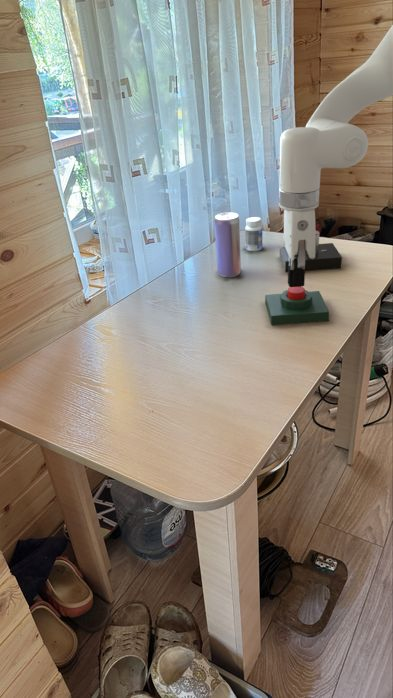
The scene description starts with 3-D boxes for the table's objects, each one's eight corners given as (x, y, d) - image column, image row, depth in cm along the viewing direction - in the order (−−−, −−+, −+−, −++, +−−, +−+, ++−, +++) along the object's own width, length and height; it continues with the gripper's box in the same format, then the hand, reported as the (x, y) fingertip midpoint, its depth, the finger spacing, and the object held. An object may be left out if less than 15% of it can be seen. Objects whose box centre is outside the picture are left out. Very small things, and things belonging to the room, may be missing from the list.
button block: (318, 299, 116) (319, 283, 114) (328, 321, 107) (329, 304, 105) (265, 303, 116) (265, 287, 114) (271, 325, 108) (271, 308, 105)
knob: (297, 251, 133) (298, 231, 130) (310, 247, 134) (311, 227, 132) (308, 256, 129) (309, 236, 126) (322, 252, 131) (323, 231, 128)
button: (303, 292, 111) (303, 285, 110) (306, 300, 108) (306, 292, 107) (286, 293, 111) (286, 286, 110) (289, 301, 108) (289, 293, 107)
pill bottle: (262, 251, 142) (261, 221, 138) (245, 251, 143) (244, 222, 139) (262, 245, 146) (262, 216, 142) (246, 245, 147) (245, 216, 143)
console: (331, 253, 137) (332, 242, 136) (341, 268, 129) (342, 256, 127) (279, 257, 138) (279, 246, 136) (285, 272, 129) (285, 260, 128)
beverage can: (222, 280, 128) (218, 221, 121) (214, 271, 133) (211, 214, 125) (244, 275, 130) (242, 217, 122) (236, 267, 135) (234, 210, 127)
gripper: (327, 208, 92) (321, 299, 102) (310, 186, 105) (306, 269, 114) (285, 211, 92) (283, 302, 102) (274, 189, 105) (273, 272, 115)
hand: (295, 284), depth 108 cm, fingers closed
